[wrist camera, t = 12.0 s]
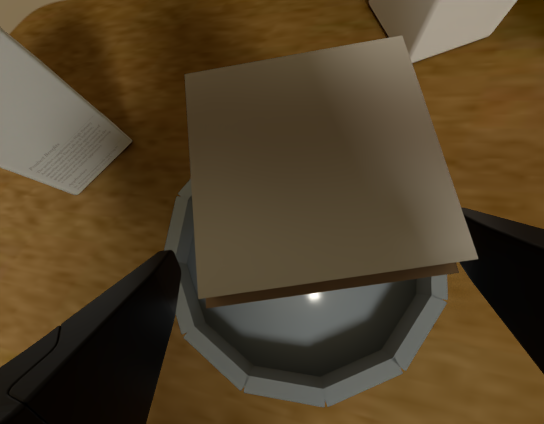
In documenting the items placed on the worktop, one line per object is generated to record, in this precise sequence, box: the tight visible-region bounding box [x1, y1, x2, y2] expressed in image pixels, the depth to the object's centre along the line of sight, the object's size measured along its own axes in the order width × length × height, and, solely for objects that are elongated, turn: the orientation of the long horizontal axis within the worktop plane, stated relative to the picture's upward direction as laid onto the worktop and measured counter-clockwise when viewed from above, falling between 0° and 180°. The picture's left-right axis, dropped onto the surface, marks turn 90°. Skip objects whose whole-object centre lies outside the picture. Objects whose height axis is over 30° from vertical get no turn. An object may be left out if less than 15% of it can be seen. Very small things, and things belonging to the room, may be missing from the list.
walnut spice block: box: [185, 35, 478, 308], centre depth 11 cm, size 5×5×13 cm
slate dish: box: [164, 179, 448, 407], centre depth 17 cm, size 16×16×2 cm
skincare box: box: [0, 27, 132, 195], centre depth 16 cm, size 6×4×12 cm
